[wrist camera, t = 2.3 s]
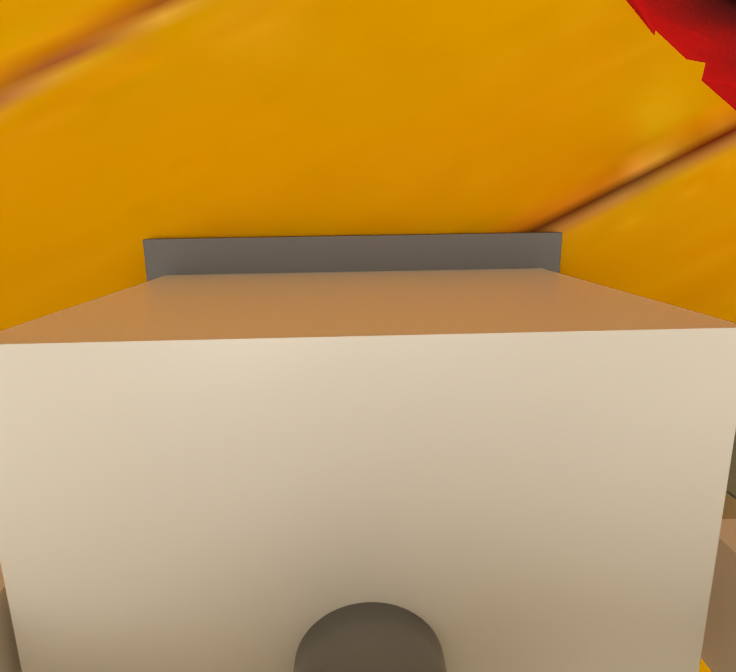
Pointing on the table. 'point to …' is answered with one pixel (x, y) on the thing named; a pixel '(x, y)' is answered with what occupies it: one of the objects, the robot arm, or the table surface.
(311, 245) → the mat
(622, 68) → the table surface
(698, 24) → the cloth
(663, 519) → the cover
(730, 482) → the bowl
